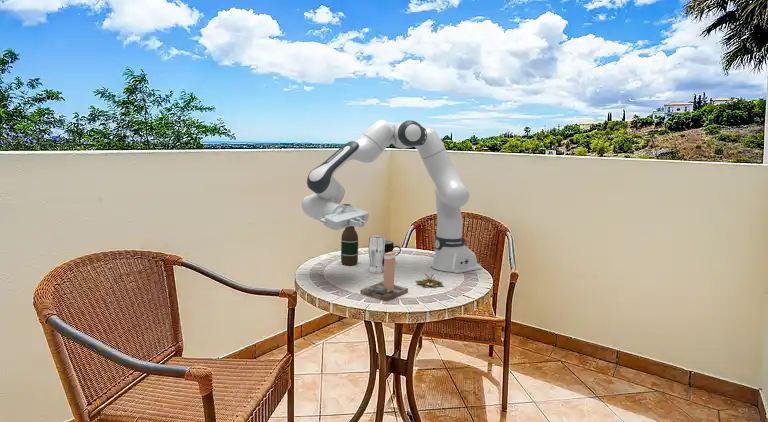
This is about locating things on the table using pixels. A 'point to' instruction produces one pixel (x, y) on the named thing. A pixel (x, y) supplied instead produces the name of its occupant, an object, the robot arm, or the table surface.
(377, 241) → the beer glass
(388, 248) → the coffee mug
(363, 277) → the table surface
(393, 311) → the table surface
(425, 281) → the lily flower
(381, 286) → the walnut control box
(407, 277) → the table surface
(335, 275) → the table surface
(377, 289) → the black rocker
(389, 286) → the terracotta paddle
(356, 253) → the beer bottle
